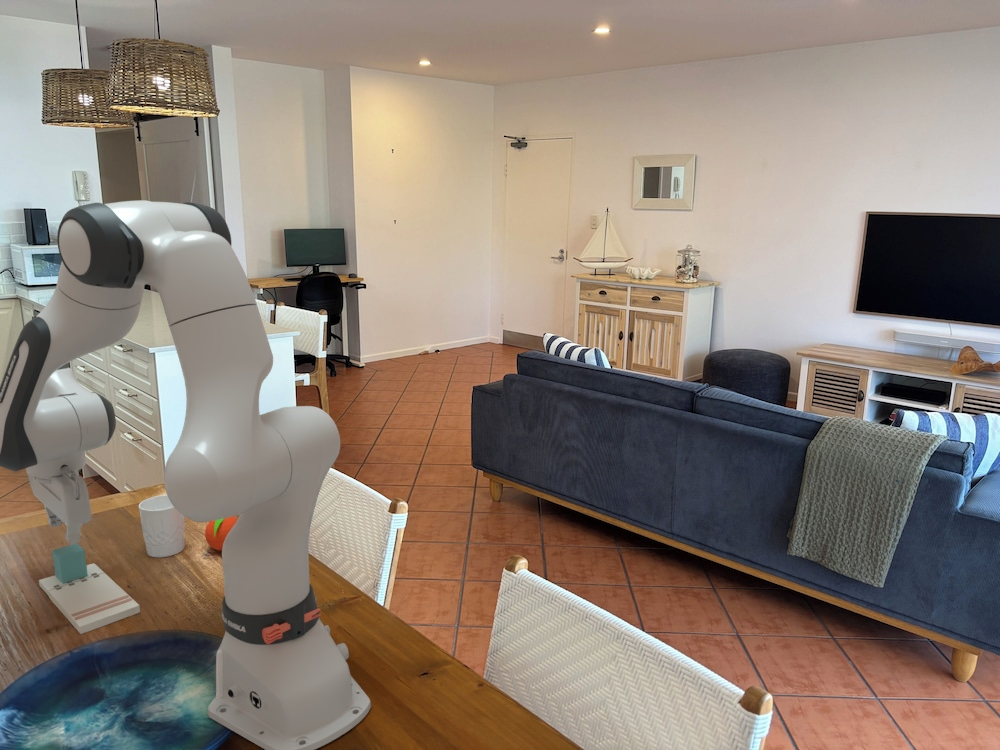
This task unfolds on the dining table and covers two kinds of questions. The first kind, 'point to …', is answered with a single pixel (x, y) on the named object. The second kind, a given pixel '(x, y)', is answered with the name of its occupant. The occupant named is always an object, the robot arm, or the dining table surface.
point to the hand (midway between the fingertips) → (64, 533)
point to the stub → (69, 568)
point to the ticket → (93, 602)
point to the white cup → (161, 527)
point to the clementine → (219, 531)
